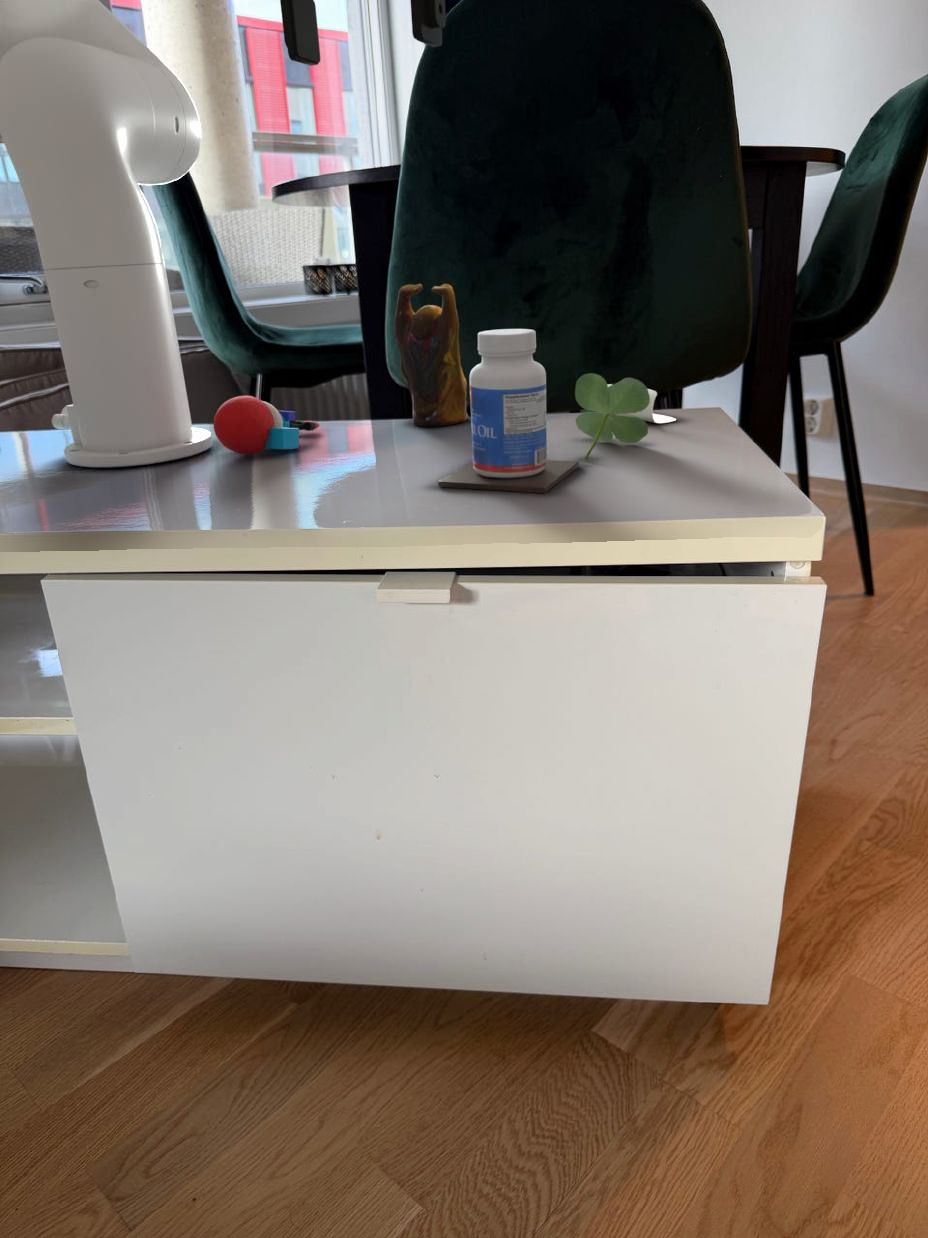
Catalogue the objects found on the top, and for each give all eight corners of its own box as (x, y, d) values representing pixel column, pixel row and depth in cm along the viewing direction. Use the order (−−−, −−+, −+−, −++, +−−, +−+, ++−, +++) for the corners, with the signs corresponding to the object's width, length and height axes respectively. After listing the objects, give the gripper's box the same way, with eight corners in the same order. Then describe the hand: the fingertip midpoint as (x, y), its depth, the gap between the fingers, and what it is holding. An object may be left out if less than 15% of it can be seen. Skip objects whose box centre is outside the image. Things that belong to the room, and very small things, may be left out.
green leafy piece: (593, 510, 73) (618, 454, 76) (649, 465, 66) (675, 406, 69) (523, 460, 71) (551, 406, 74) (573, 410, 64) (602, 352, 67)
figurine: (472, 413, 90) (464, 279, 85) (463, 426, 83) (454, 282, 79) (411, 416, 90) (400, 283, 86) (398, 428, 84) (385, 286, 79)
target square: (438, 486, 63) (438, 481, 62) (481, 461, 69) (481, 456, 69) (545, 493, 60) (544, 487, 59) (579, 466, 66) (579, 461, 66)
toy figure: (254, 446, 87) (185, 453, 73) (254, 395, 86) (184, 392, 72) (328, 451, 86) (273, 459, 72) (329, 400, 85) (273, 397, 71)
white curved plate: (624, 409, 88) (625, 379, 86) (682, 419, 81) (683, 386, 80) (595, 414, 86) (595, 383, 85) (652, 425, 80) (653, 391, 78)
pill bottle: (462, 468, 66) (455, 331, 62) (527, 459, 68) (525, 325, 64) (490, 483, 61) (484, 336, 57) (559, 473, 63) (558, 330, 59)
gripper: (493, -286, 53) (502, 45, 60) (258, -214, 60) (290, 76, 67) (441, -354, 47) (457, 23, 54) (185, -265, 54) (228, 60, 60)
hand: (364, 52), depth 60 cm, fingers open, 9 cm apart
